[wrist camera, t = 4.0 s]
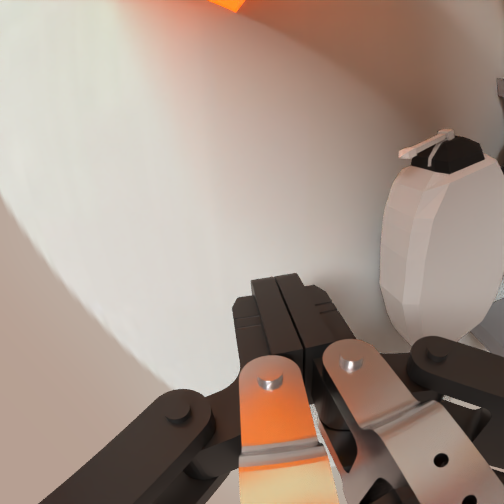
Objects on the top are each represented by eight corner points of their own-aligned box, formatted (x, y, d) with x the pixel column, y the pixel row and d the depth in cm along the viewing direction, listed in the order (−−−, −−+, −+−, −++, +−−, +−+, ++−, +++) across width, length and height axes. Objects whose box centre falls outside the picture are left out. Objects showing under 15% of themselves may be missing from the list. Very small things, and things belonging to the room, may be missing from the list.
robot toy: (503, 105, 13) (333, 146, 12) (553, 113, 8) (401, 159, 8) (505, 255, 18) (369, 346, 17) (543, 277, 14) (407, 394, 13)
